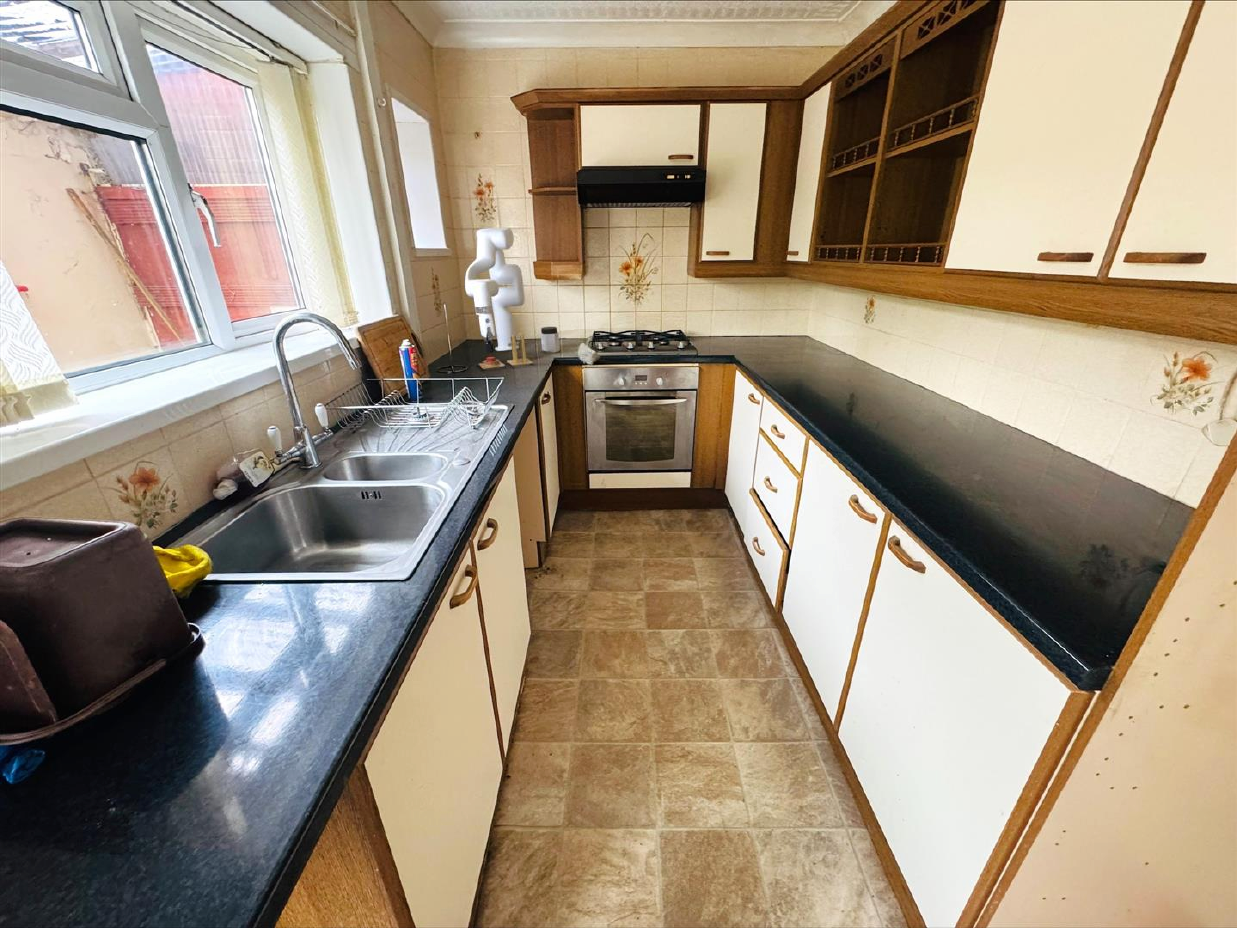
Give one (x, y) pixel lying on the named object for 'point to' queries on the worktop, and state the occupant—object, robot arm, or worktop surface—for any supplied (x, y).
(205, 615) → the worktop surface
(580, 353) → the grey rock
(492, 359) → the button
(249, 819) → the worktop surface
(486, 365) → the switch block
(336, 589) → the worktop surface
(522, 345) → the light wood peg stand
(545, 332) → the jar
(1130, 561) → the worktop surface
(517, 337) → the switch lever
